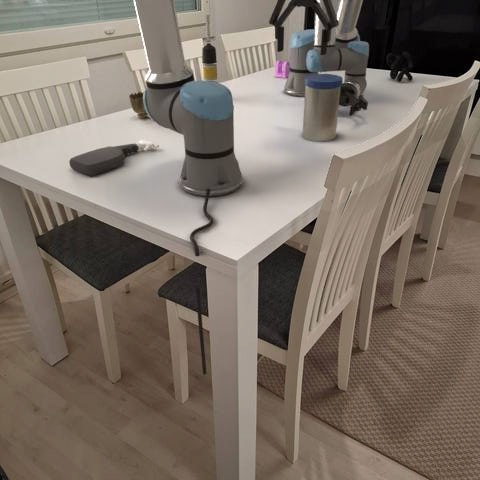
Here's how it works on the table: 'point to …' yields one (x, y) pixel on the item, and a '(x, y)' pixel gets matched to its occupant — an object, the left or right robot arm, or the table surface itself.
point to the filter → (209, 57)
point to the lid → (323, 81)
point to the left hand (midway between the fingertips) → (301, 52)
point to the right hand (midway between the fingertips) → (330, 108)
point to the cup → (138, 104)
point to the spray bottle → (106, 157)
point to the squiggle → (399, 66)
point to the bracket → (279, 69)
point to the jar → (320, 113)
